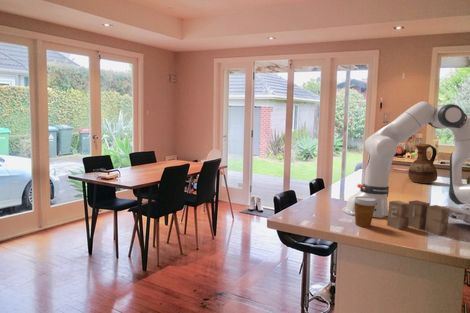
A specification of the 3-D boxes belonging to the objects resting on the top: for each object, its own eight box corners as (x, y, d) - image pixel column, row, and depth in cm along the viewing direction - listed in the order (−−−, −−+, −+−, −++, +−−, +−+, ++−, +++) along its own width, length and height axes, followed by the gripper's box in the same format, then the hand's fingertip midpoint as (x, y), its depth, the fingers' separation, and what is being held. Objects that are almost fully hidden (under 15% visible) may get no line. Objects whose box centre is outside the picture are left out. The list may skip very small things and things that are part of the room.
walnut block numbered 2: (395, 224, 169) (398, 200, 168) (407, 228, 164) (410, 203, 163) (386, 225, 166) (388, 201, 165) (398, 229, 161) (400, 204, 160)
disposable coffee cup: (350, 226, 162) (353, 199, 161) (352, 220, 171) (354, 195, 170) (374, 229, 159) (376, 202, 158) (374, 223, 168) (376, 197, 167)
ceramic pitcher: (402, 179, 297) (406, 142, 294) (426, 180, 299) (430, 143, 296) (417, 184, 278) (421, 144, 274) (442, 185, 280) (446, 145, 277)
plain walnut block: (433, 229, 164) (436, 205, 162) (446, 233, 159) (449, 208, 157) (424, 231, 161) (427, 206, 159) (438, 235, 156) (441, 209, 154)
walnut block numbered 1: (414, 223, 171) (417, 200, 170) (426, 227, 166) (429, 203, 165) (406, 225, 168) (408, 201, 167) (418, 229, 163) (420, 204, 162)
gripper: (449, 201, 180) (432, 204, 174) (496, 212, 163) (478, 215, 156) (448, 214, 181) (430, 217, 174) (494, 226, 164) (476, 230, 157)
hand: (453, 216), depth 165 cm, fingers closed
